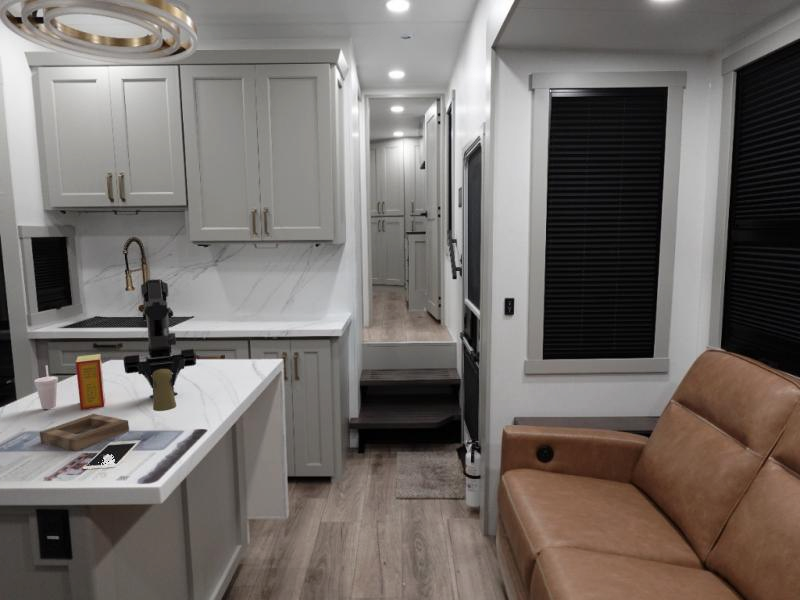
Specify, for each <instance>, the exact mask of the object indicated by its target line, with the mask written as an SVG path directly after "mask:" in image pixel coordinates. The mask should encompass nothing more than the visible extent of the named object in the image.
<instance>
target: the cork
mask: <svg viewBox="0 0 800 600" xmlns="http://www.w3.org/2000/svg"><path fill="white" fill-rule="evenodd" d="M172 374H173V373H172V372H171V370H169V369H159V370H156V371H154V372H153V374H152V379H153V381H154V382H155V386H154V398H153V403H152V404H153V405H152V410H153V411H155V412H164V411H165V412H166V411H170V410H172V409H175V408H176V407H177V403H176V398H175V395H174V393H173V389H172V384H171V379H172Z"/></svg>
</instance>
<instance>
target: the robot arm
mask: <svg viewBox="0 0 800 600" xmlns="http://www.w3.org/2000/svg"><path fill="white" fill-rule="evenodd" d="M140 290H141V291H140V292H141V299H144V309H142V320H143V322H144V321H145V323H146V325H147V337H148V355H149V357H147V356H140V353H136V354H128V355H126V354H125V356H123V367H124V372H125V374H134V373H135V374H136V373H138V375H143V376H144V378H145V379H146V381H147V382H148V384H149V386H150V388H151V389H152V395H149V398H151V399H154V386H155V382H154V381H153V379H152V374H153V372H154V371H156V370H159V369H169V370H171V372H172V379H171V384H172V389H173V393H174V396H176V395H178V392H176V391H175V388H174V386H175V385H176V381H177V378H178V376H179V374H180V372H181V370H184V369H185V368H186V367H193V366H195V365H197V352H196V349H194V348H193V347H192V348H184V349H183V348H182V349H180V354H174V355H173V354H172V346H176V345H177V337H176V332H170V329H169V327H170V326H169V325H170V323H169V322H170V320H171V319H172V317H174V311H173V310H172V309H171V307H169V306H168V301H167V298H168V297H169V285H168V283H166V282H164V281H163V279H159V278H158V279H147V280H146V281H145V282H144V283H143V284H141V285H140Z"/></svg>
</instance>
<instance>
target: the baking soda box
mask: <svg viewBox="0 0 800 600" xmlns="http://www.w3.org/2000/svg"><path fill="white" fill-rule="evenodd" d="M75 368H76V378H77V379H76V380H77V387H78V389H77V390H78V396H79V397H78V398H79V407H80V411H83V410H82V409H86V410H92V409H98V407H99V408H105V402H106V397H105V388H104V387H105V386H104V378H103V365H102V356H101V353H98V354H89V355H78V356H77V358H76V360H75ZM91 408H92V409H91Z"/></svg>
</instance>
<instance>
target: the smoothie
mask: <svg viewBox="0 0 800 600" xmlns="http://www.w3.org/2000/svg"><path fill="white" fill-rule="evenodd" d="M44 366H45V373H46V376H44V377H41V378H40V377H39V378H37V379H35V380H34V381H33V382H34V383H33V384H34V385H35V386H36V390H37V394H38V398H39V401H40V405H41V409H42V410H43V409H50V410H52V409H51V408H54V407H56V408H57V399H58V398H57V397H58V394H57V393H58V392H57V391H58V381H59V377H58V376H52V375H51V376H50V375H49V367H48V364H46V365H44ZM54 409H55V408H54Z"/></svg>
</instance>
